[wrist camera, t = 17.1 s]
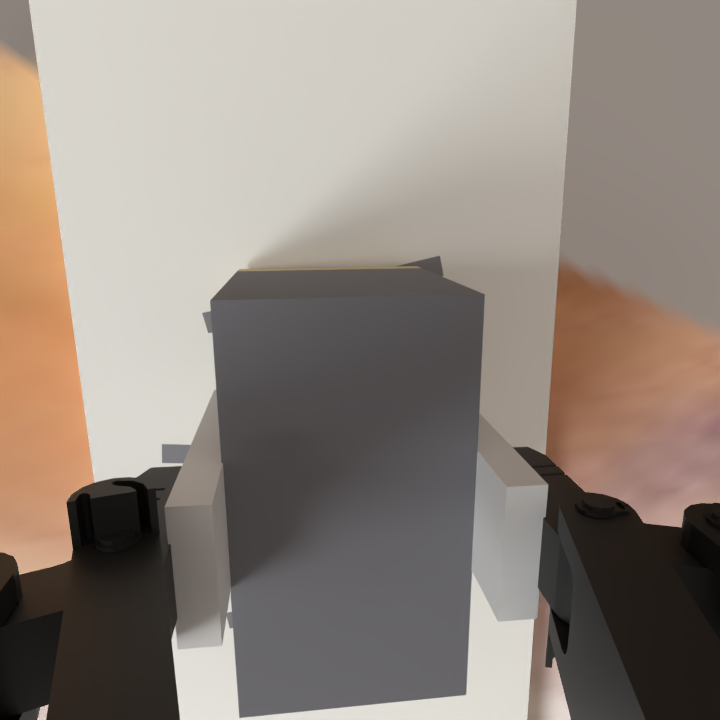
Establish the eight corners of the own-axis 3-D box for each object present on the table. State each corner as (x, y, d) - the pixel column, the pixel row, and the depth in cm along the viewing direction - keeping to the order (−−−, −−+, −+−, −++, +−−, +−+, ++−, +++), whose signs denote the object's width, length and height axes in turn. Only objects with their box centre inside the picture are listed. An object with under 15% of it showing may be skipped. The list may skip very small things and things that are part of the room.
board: (157, 863, 22) (151, 898, 21) (33, -100, 15) (11, -127, 13) (507, 815, 24) (518, 846, 23) (562, -76, 16) (583, -99, 15)
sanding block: (255, 557, 18) (239, 718, 12) (238, 269, 16) (209, 300, 10) (411, 546, 19) (466, 694, 13) (417, 266, 17) (484, 294, 11)
